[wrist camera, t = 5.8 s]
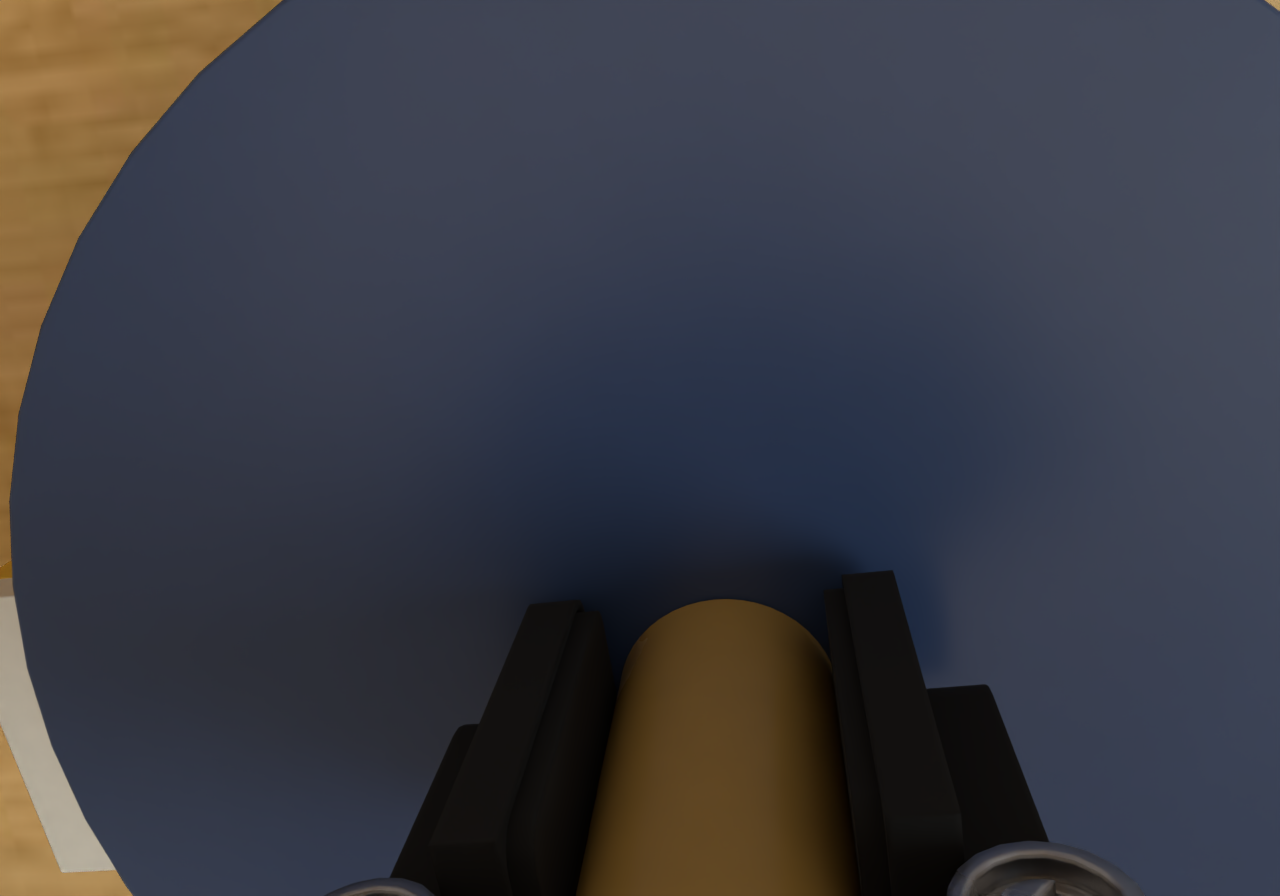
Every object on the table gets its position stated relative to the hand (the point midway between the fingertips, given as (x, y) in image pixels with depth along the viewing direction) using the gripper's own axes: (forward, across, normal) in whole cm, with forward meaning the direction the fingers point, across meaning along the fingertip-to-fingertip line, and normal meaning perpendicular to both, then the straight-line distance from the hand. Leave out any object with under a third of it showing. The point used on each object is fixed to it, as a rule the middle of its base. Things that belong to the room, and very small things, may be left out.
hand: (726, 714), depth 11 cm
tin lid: (+1, 0, 0) cm, 1 cm away
